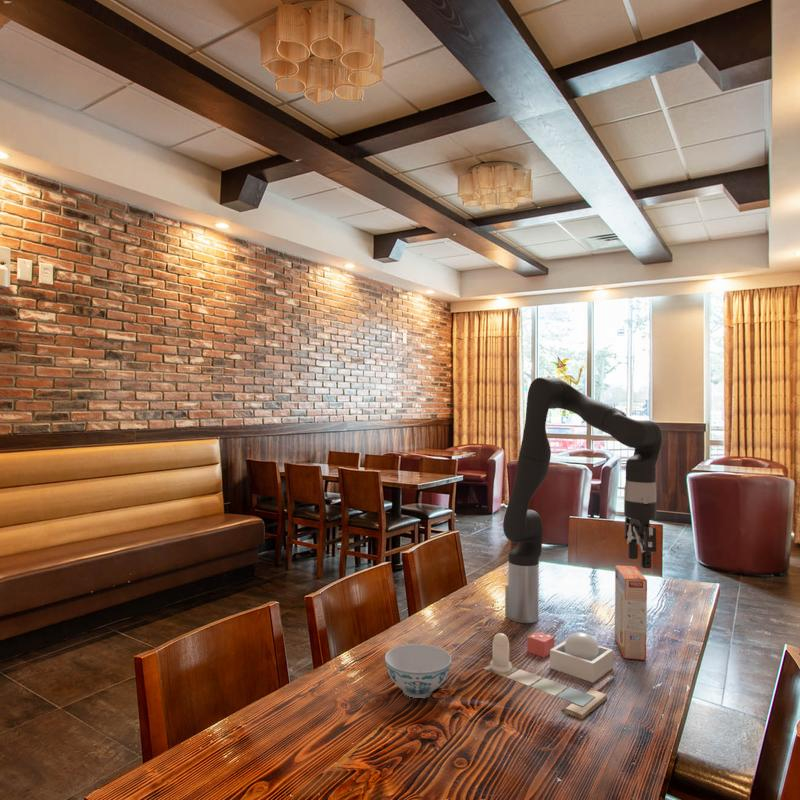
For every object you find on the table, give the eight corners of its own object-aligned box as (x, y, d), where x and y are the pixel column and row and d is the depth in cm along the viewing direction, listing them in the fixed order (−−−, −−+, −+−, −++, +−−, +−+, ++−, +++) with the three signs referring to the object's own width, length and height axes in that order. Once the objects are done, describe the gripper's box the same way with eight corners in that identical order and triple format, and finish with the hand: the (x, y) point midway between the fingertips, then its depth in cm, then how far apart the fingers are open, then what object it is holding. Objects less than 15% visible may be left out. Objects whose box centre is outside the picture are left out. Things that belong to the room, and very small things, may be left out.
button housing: (549, 672, 140) (550, 649, 140) (571, 659, 148) (571, 637, 148) (593, 687, 132) (593, 663, 132) (613, 672, 140) (613, 649, 140)
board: (471, 675, 137) (471, 670, 137) (499, 660, 146) (499, 655, 146) (582, 719, 118) (581, 713, 118) (606, 699, 127) (606, 693, 127)
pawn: (485, 668, 139) (486, 633, 139) (497, 662, 142) (498, 627, 143) (503, 675, 135) (504, 639, 135) (515, 668, 139) (516, 633, 139)
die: (527, 656, 149) (527, 636, 149) (537, 650, 153) (537, 631, 153) (544, 661, 146) (544, 641, 146) (554, 656, 149) (554, 636, 149)
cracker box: (647, 661, 147) (648, 579, 147) (623, 659, 148) (623, 577, 148) (636, 640, 160) (636, 565, 161) (614, 638, 162) (614, 564, 162)
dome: (558, 666, 140) (558, 633, 140) (573, 656, 146) (574, 624, 146) (589, 676, 134) (590, 642, 134) (604, 666, 140) (604, 633, 140)
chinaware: (460, 684, 133) (460, 651, 133) (436, 715, 119) (437, 677, 119) (401, 671, 139) (401, 639, 139) (372, 699, 126) (373, 663, 126)
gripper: (615, 494, 152) (614, 555, 152) (636, 503, 138) (635, 570, 138) (643, 495, 152) (643, 556, 152) (667, 504, 138) (666, 571, 138)
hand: (639, 563), depth 145 cm, fingers open, 8 cm apart
